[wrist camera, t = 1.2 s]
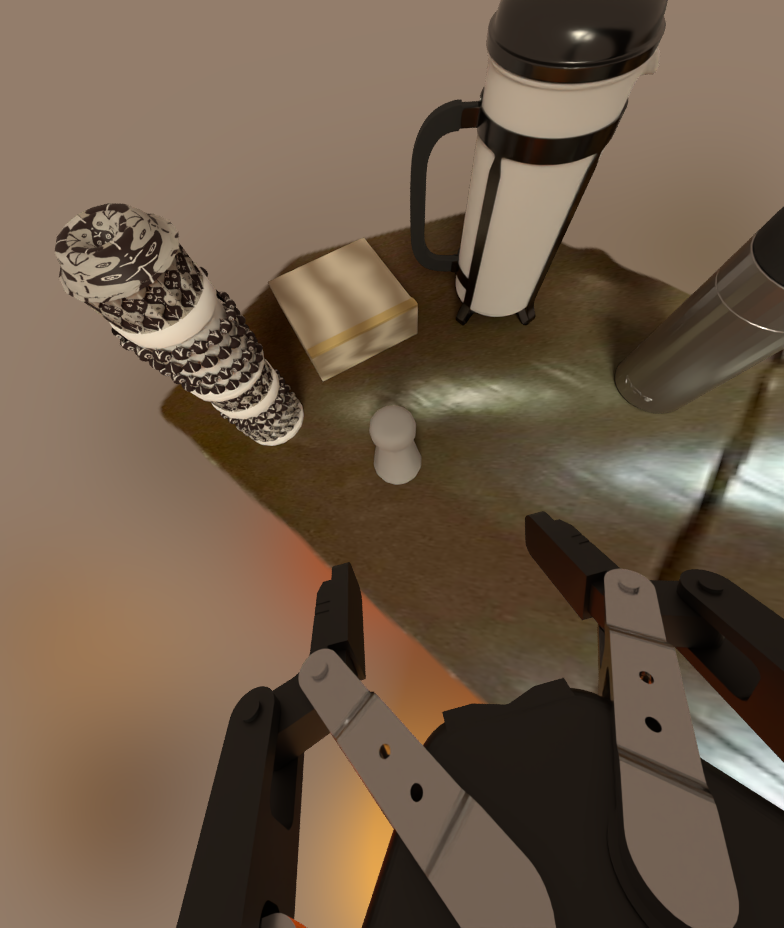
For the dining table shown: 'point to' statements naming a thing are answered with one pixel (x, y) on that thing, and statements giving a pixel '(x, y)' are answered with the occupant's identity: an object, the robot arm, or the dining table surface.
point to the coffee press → (534, 139)
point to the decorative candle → (174, 316)
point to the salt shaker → (395, 444)
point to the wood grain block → (345, 307)
